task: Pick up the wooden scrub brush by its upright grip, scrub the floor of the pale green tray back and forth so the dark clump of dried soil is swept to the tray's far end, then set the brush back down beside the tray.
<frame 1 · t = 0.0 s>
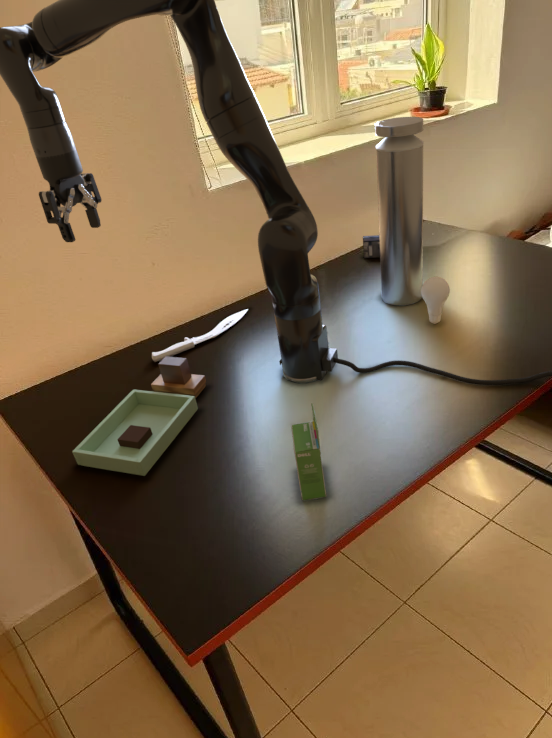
hand: (83, 234, 118), 29 cm above the table, tool pointing down, fingers open, 8 cm apart
lightbulb: (434, 323, 130), on the table
silver metal canister: (402, 297, 143), on the table
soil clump: (136, 440, 105), point 1 cm above the table, touching tray
mini dv tape: (378, 257, 166), on the table
tray: (141, 437, 107), on the table
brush: (181, 391, 118), on the table
ink box: (312, 485, 91), on the table
knife: (205, 335, 138), on the table
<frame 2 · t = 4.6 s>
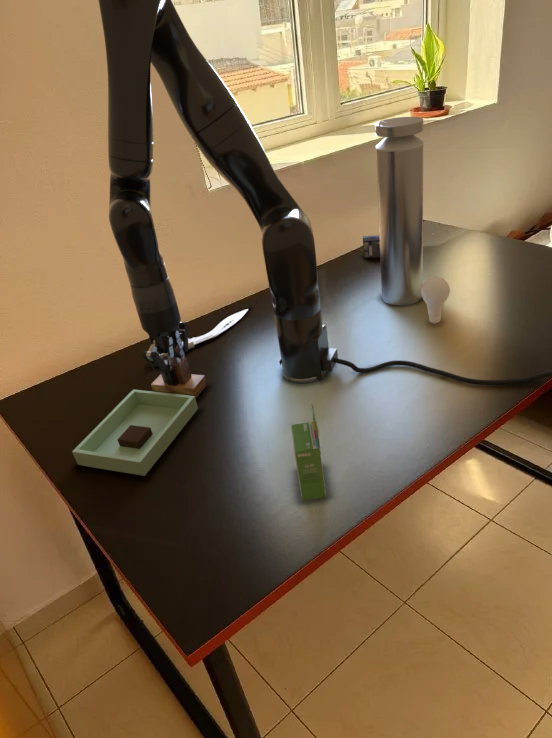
hand: (177, 379, 117), 3 cm above the table, tool pointing down, fingers closed on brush, 3 cm apart
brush: (181, 391, 118), on the table, touching gripper
everything else where it was.
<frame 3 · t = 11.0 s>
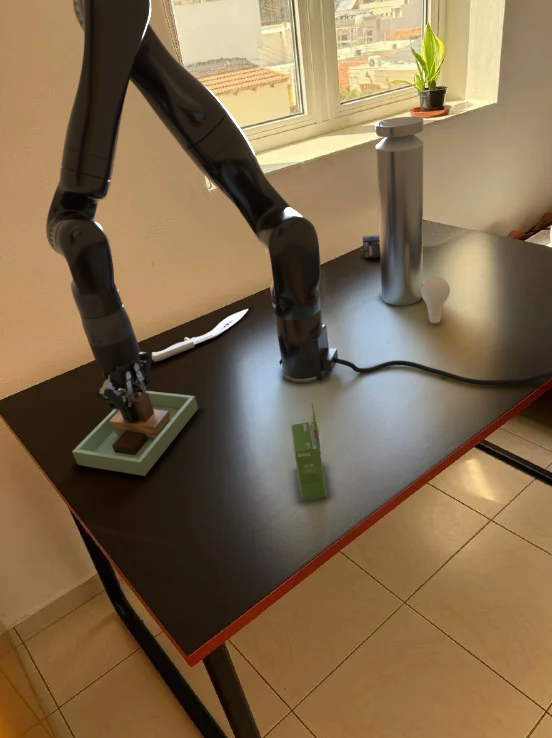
hand: (138, 415, 105), 4 cm above the table, tool pointing down, fingers closed on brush, 3 cm apart
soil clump: (131, 446, 104), point 1 cm above the table, touching tray
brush: (143, 428, 107), point 1 cm above the table, touching gripper
everything else where it was.
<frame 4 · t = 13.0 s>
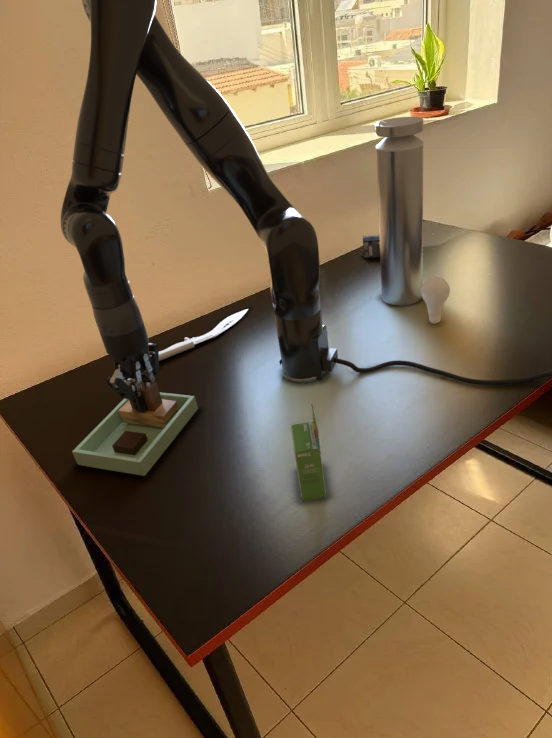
hand: (147, 405, 108), 4 cm above the table, tool pointing down, fingers closed on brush, 3 cm apart
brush: (151, 418, 110), point 1 cm above the table, touching gripper
everything else where it was.
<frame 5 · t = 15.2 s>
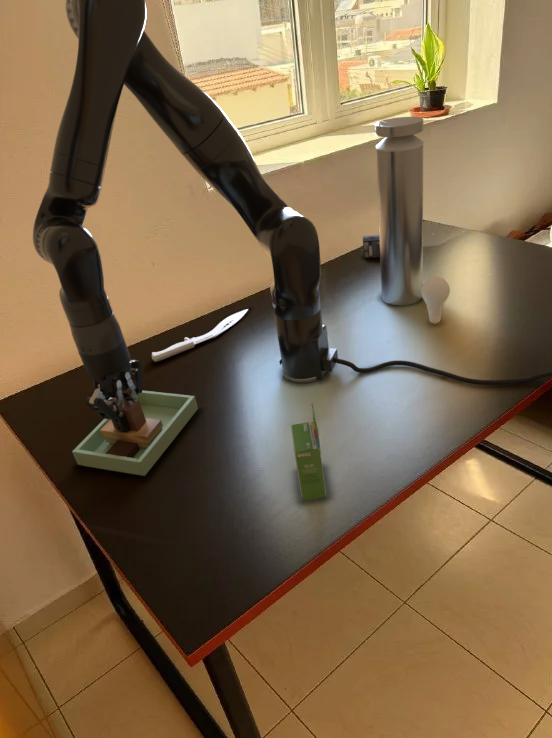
hand: (130, 424, 103), 4 cm above the table, tool pointing down, fingers closed on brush, 3 cm apart
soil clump: (123, 456, 102), point 1 cm above the table, touching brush, tray
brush: (135, 437, 105), point 1 cm above the table, touching gripper, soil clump
everything else where it was.
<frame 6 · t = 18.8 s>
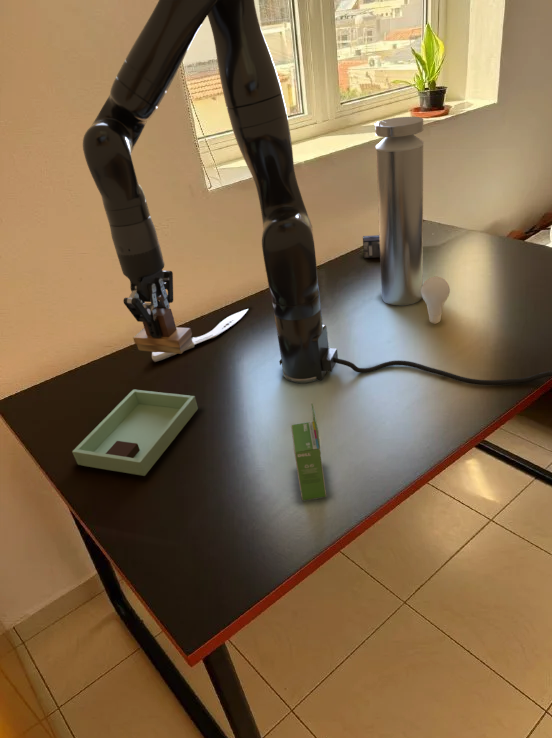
hand: (162, 331, 110), 14 cm above the table, tool pointing down, fingers closed on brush, 3 cm apart
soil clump: (123, 456, 102), point 1 cm above the table, touching tray
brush: (165, 346, 111), point 11 cm above the table, touching gripper
everything else where it was.
when the fingers open (3 cm above the table, at t = 21.6 s): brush stays where it is, on the table.
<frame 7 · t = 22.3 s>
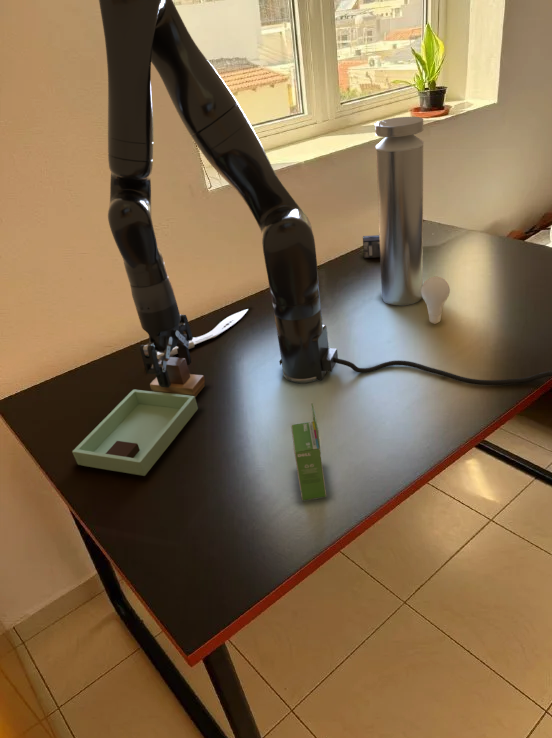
hand: (176, 374, 116), 4 cm above the table, tool pointing down, fingers open, 8 cm apart
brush: (180, 391, 118), on the table
everything else where it was.
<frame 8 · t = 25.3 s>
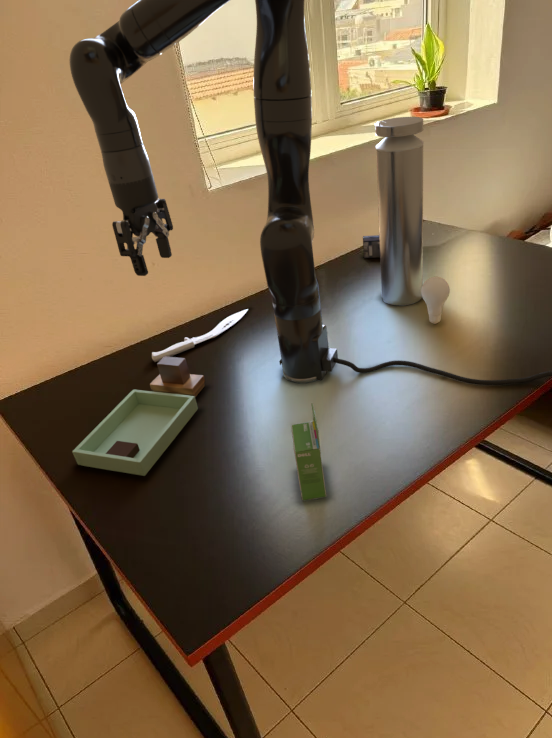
hand: (154, 265, 106), 26 cm above the table, tool pointing down, fingers open, 8 cm apart
nothing on the table moved.
at the end: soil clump inside the target area in the tray (0.6 cm from its centre), point 0.6 cm above the tray's base; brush inside the target area (0.3 cm from its centre), on the table; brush tilted 0° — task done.
